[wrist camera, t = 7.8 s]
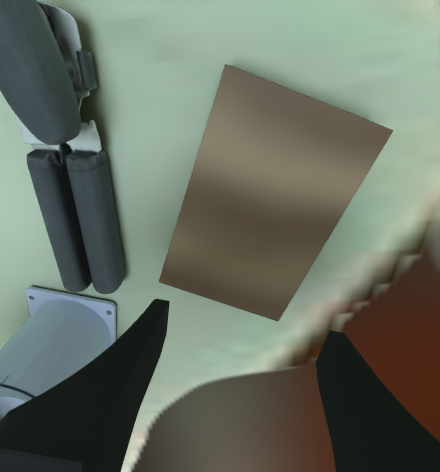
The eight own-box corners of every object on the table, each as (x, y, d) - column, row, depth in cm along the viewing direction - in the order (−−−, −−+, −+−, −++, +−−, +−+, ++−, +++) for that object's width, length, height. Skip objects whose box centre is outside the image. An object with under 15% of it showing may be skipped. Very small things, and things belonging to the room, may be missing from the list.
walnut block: (274, 287, 25) (278, 321, 22) (171, 252, 25) (158, 281, 21) (367, 119, 19) (393, 130, 15) (230, 65, 18) (225, 64, 15)
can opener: (6, 2, 18) (-108, -31, 12) (91, 2, 17) (13, -33, 12) (76, 274, 27) (29, 327, 21) (133, 277, 26) (101, 333, 21)
